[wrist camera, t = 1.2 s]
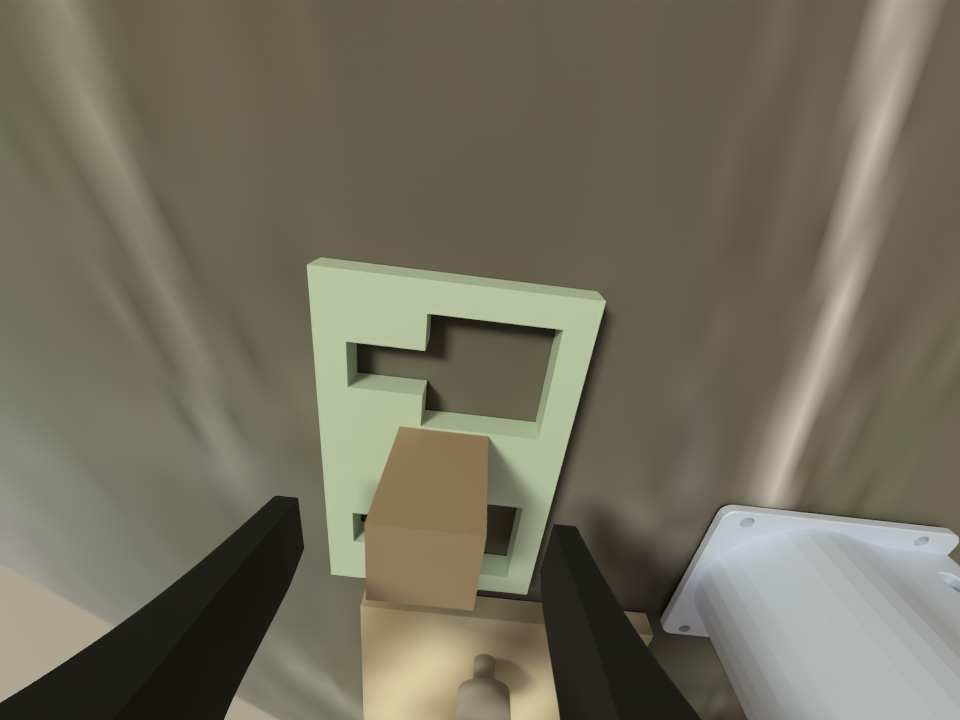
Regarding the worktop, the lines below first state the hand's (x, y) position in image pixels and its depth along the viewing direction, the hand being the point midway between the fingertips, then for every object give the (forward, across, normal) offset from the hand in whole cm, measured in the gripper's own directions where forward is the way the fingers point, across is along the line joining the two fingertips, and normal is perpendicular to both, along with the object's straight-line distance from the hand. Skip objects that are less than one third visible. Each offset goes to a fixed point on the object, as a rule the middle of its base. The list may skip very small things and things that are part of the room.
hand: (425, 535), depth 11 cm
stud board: (+4, -4, +15) cm, 16 cm away
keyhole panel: (+4, 0, 0) cm, 4 cm away
